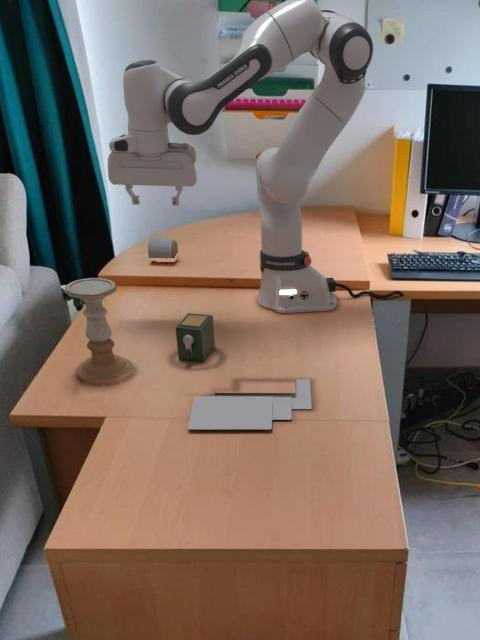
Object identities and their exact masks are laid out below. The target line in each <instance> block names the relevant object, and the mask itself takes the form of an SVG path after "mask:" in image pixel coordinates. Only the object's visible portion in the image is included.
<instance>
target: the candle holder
mask: <svg viewBox="0 0 480 640" xmlns="http://www.w3.org/2000/svg"><path fill="white" fill-rule="evenodd" d="M117 289H118V285H117V284H116V282H115V281H113V280H111V279H109V278H104V277H103V278H101V277H88V278H80V279H76V280H74V281H71V282H69V283H68V284H66V285H65V287H64V291H65V293H66V295H67V296H69V297H71V298H75V299H78V300H79V299H80V300H81V301H82V302H83V303H84V305H85V308H84V309H83V311H82V314H83V316H84V317H86V328H85V337H86V338H87V339H88V342H87V343H86V348H87V349H88V350H89V351H90V352H91V356H90V357H88V358H86V359H85V360H84V361H82V362H81V363H79V364H78V365H77V367H76V370H75V371H76V373H75V374H76V376H77V378H78V379H79V380H81V381H82V382H84V380H85V379H88V380H100V381H101V380H110V379H116V378H119V377H122V376H124V375H126V374H128V373H129V372H130V371H131V370H132V368H133V362H132V361H131V360H129V359H127V358H125V357H123V356H120V355H118V354H114V351H113V349H114V347H115V341H114V340H113V339H111V337H112V335H113V332H112V329H111V326H110V325H109V323H108V320H107V318H106V317H107V314H108V309H107V308H105V307H104V305H103V301H104V299H105V298H106V297H110V296H111V295H113V294H114V293H116V291H117Z"/></svg>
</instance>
